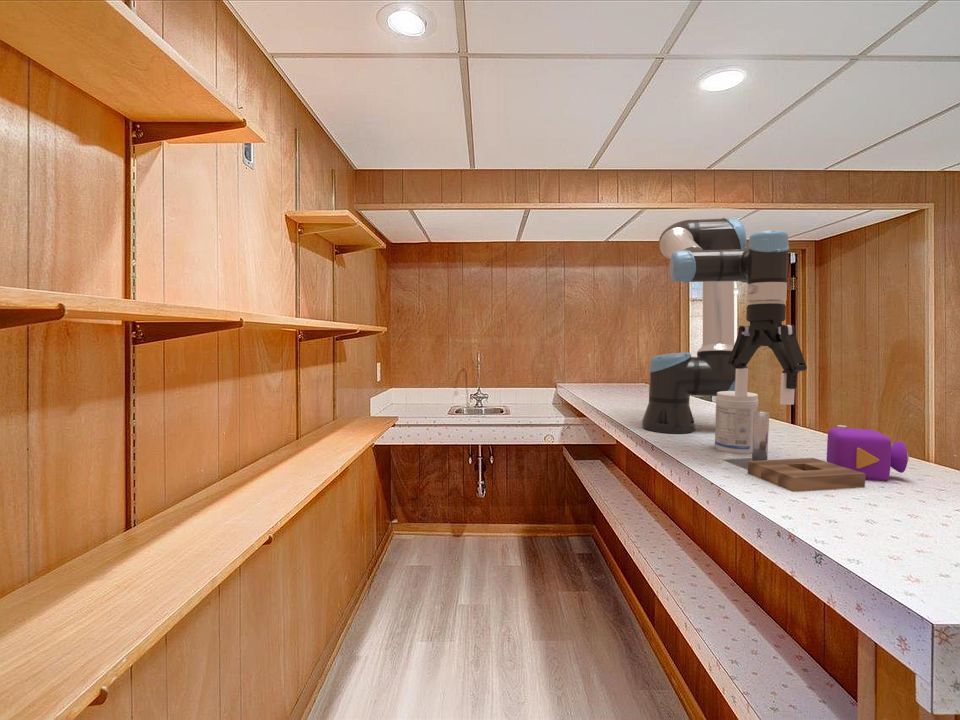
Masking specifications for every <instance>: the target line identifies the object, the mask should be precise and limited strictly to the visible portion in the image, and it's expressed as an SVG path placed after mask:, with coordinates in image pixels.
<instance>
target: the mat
mask: <svg viewBox="0 0 960 720" xmlns="http://www.w3.org/2000/svg"><path fill="white" fill-rule="evenodd" d="M721 460H722V461H724V462H727V463H729V464H731V465H735V466H737V467H740V468H743V469H745V470H747V471H748V461H752V457H745V458H744V457H743V458H725V459H721Z"/></svg>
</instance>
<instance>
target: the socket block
mask: <svg viewBox="0 0 960 720" xmlns="http://www.w3.org/2000/svg"><path fill="white" fill-rule="evenodd" d="M747 474H748V475H750V476H752V477H753V476H754V477H756V478H758V479H759V480H763V481H765V482H768V483H770V484H773V485H775V486H778V487H781V488H783V489H785V490H788V491H791V492H792V493H793V492H794V493H796V492H806V491H807V492H810V491H822V490H823V491H824V490H825V491H826V490H836V489H837V490H841V489H854V488H865V487H866V479H865V473H862V472H859V471H855V470H852V469H849V468H845V467H842V466H839V465H835V464H832V463H829V462H827V461H826V460H821V459H818V458H815V457H804V458H803V457H802V458H785V459H784V458H783V459H767V460H761V461H748V470H747Z"/></svg>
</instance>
